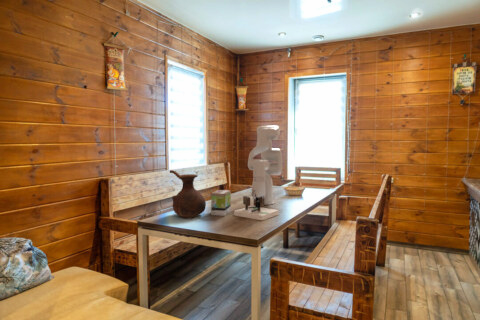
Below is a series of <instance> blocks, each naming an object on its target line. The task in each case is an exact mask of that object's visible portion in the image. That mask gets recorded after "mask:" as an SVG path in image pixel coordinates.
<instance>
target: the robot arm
mask: <svg viewBox="0 0 480 320" xmlns="http://www.w3.org/2000/svg"><path fill="white" fill-rule="evenodd" d="M256 134H257V137H256V138H257V139H256V146H255V147H253V148H252V150H251V151H250V152H249V155H248V160H247V167H248V169H249V170H250V171H252V177H253V178H252V180H253V181H252V184H251V197H252V199H253V201H254V200H255V207H256V208H260V202H259V198H264V206H265V205H267V206H268V205H269V206H270V205H275V201H274V200H276V196H274V195H273V192H274V190H273V189H274V187H273V186H274V185H273V178H272V177H271V176H281V174H282V172H283V152H282V150H281V148H276V147H275V148H273V141H276V140H278V139H279V138H280V134H281V128H280V126H278V125H260V126H258V127H257V128H256ZM259 154H260V157H261V158H255V157H256V156H257V155H259ZM269 161H270V162H269ZM257 198H258V199H257Z"/></svg>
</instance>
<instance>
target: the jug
mask: <svg viewBox="0 0 480 320" xmlns="http://www.w3.org/2000/svg"><path fill="white" fill-rule="evenodd" d="M170 173H171V174H174V175H175V176H176V177H177V178H178V179H179V180H180V181H181V182H182V187H181V190H180V191H178V193H177V194H176V195H173V196H171V198H172V199H171V200H172V210H173V213H175V215H177V216H179V217H181V218H186V219H188V218H189V219H190V218H196V217H198V216H200V215H201V214H202V213H204V212H205V209H206V205H207V202H206V200H205V197H204V196H203V195H202V193H200V192H199V191H198V190H197V189H196V188H195V187H194V182H195V179H196V178H197V177H199V176H198V174H179V172H177V171H175V170H173V169H171V170H169V174H170Z"/></svg>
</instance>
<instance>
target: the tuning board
mask: <svg viewBox="0 0 480 320" xmlns="http://www.w3.org/2000/svg"><path fill="white" fill-rule="evenodd" d="M249 207H255V206H254V205H250V206H249ZM255 209H258V208H248V209H247V210H246V209H245V207H243V208H240V209H236V210H234V214H233V215H234V216H236V217H240V218H241V217H242V218H246V219H252V220H259V221H265V220H267V219H271V218H273V217H276V216H279V210H278V209H274V208H266V207H260V211H258V210H257V211H254V212H251V211H252V210H255Z"/></svg>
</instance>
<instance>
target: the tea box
mask: <svg viewBox="0 0 480 320" xmlns="http://www.w3.org/2000/svg"><path fill="white" fill-rule="evenodd" d="M231 193H232V190H228V189H222V190H221V189H217V190H215V191H212V192H211V195H210V197H211V199H210V200H211V201H210V202H211V204H210V205H211V206H210V215H211V216H221V217H224V216H226V215H228V213H230V212H231V210H232V209H231V208H232V207H231V206H232V205H231V204H232V203H231V201H232V200H231V199H232V198H231V197H232V194H231Z"/></svg>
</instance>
